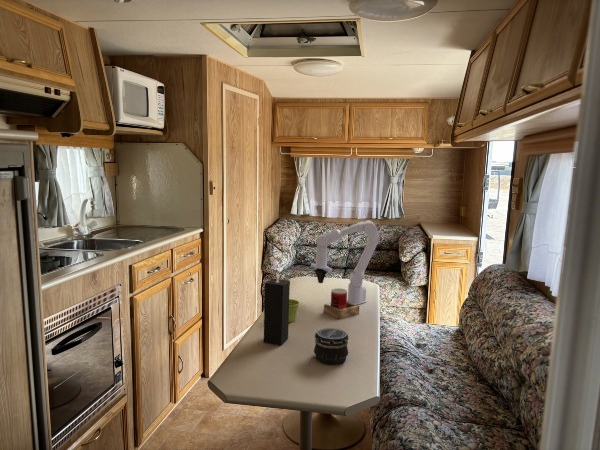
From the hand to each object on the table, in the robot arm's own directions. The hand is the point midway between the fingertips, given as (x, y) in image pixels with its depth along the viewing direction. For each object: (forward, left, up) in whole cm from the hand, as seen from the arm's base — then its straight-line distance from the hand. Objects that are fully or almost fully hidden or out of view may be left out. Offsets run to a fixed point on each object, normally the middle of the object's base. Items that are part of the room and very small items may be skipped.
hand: (320, 282), depth 231 cm
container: (+44, +55, -10) cm, 71 cm away
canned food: (+5, +19, -10) cm, 22 cm away
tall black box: (+51, +30, -10) cm, 60 cm away
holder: (+5, +20, -10) cm, 23 cm away
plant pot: (+32, +14, -10) cm, 36 cm away
